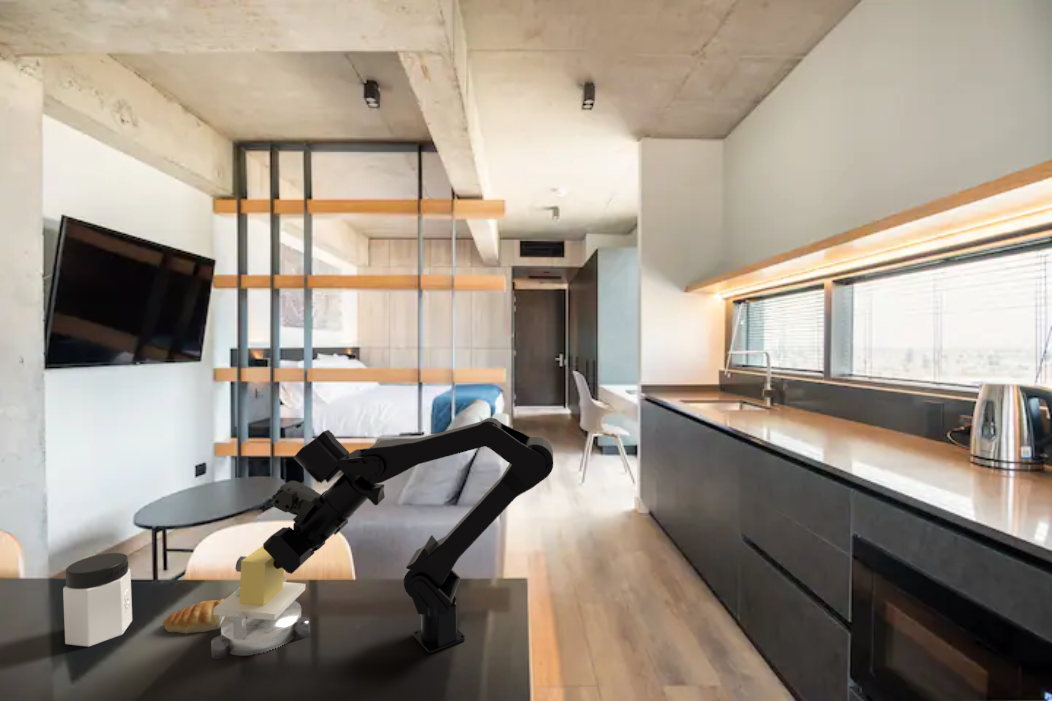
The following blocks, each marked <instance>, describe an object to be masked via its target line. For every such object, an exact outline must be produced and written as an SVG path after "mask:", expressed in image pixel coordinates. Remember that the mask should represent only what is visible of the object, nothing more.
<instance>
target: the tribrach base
mask: <svg viewBox="0 0 1052 701" xmlns="http://www.w3.org/2000/svg"><path fill="white" fill-rule="evenodd" d="M283 582H287V577H285V576H284V577H283ZM310 623H311V622H310V617H307V616H302V606H301V604H300V603H299V602H298V601H296V600H294V601H293V602H292V603H291V604H290V605H289V606H288V607H287V608H286V609H285V610H284V611H283V612H282V613H281V614H280V615H279V616H278V617H277V618H276V619H275V620H265V619H255V618H247V619H246V613H237V614H235V615H234V616H226V617H225V618H224V619H223V621H222V623H221V626H220V635H218V636H216V637H213V638H212V639H211V642H210V643H211V644H210V646H211V650H210V651H211V658H212V659H213V660H221V659H223V658H225V657H227V656H228V655H229V654H230V655H234V656H246V657H247V656H254V655H253V654H255V655H259V654H258V653H260V654H264V653H267V651H268V652H270V651H269V650H271V651H273V650H272V649H274V650H276V649H278V647H279V648H281V647H283V646H285V645H286V644H288V643H289V642H291V641H293V639H295V640H302V639H305V638H308V637H309V636H310V634H311V628H310V625H311V624H310ZM294 637H295V638H294ZM290 640H291V641H290ZM284 644H285V645H284ZM282 645H283V646H282ZM280 646H281V647H280ZM275 648H276V649H275ZM263 652H264V653H263Z"/></svg>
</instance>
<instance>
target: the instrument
mask: <svg viewBox="0 0 1052 701" xmlns="http://www.w3.org/2000/svg"><path fill="white" fill-rule="evenodd" d="M274 562H275V560H274V559H273V557H272V556H271V555H270V554H269V553H268V552H267V551H266V550H265V549H264V548H263V545H261V546H260V547H259V548H257V549H256V550H254V551H253V552H251V554H249V555H248V556H242V555H240V556H239V558H237V560H236V563H235V571H236V572H237V573H238V572H239V573H240V583H239V584H240V585H239V587H238V588H237V589H236V590H235V591H234V592H232V593H231V594H230V595H229V596H227V597H226V598H224V599H225V600H224V601H222V602H221V603H220V604H218V605H217V606H216V607H215V608H214V613H213V615H224V616H234V615H235V614H237V613H246V619H247V618H255V619H265V620H275V619H276V618H277V617H278V616H279V615H280V614H281V613H282V612H283V611H284V610H285V609H286V608H287V607H288V606H289V605H290V604H291V603H292V602H293V601H296V600H297V599H298V597H299V596H301V594H302V593H304V592H305V590H306V583H301V582H300V583H299V582H287V581H286V582H283V577H285V575H284V573H285V572H284V571H285V570H284V569H283V568H279V569H276V568H275V567H274V566H273V563H274Z"/></svg>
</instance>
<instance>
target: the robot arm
mask: <svg viewBox="0 0 1052 701" xmlns="http://www.w3.org/2000/svg"><path fill="white" fill-rule="evenodd" d="M484 447H486V448H488V449H489V450H491V451H493V452H494V453H495V454H496V455H498V456H499V457H500V458H502V459H503V460H504V461H505V462H508V465H507V467H506V469H505V470H504V472H503V474H502V475H501V476H500V478H499V479H498V480H496V482H494V484H493V485H492V486H491V487H490V488H489V489H488V490H487V492H486V493H484V495H483V496H482V497H481V498H480V499H479V500H478V501H477V502H476V503H475V504H474V505H473V506H472V508H471V509H470V510H469V511H468V512H467V513H466V514H465V515H464V516H463V517H461V519H460V520H459V521H458V522H457V523H456V525H455V526H453V528H452V529H451V530H450V531H449V532H447V534H446V535H445V536H443V537H442V538H440V539H438V540H437V539H436V538H435V537H434V535H430V536H429V537H428V540H427V541H426V542H425V544H424V545H423V546H422V547H420V548H418V549H416V551H415V552H414V554H413V555H412V557H411V559H410V561H409V562H408V564H407V566H405V567H406V570H407V572H406V573H405V575H404V578H403V587H404V590H405V592H406V593H407V595H408V596H409V597H410V598H411V599H412V601H413V604H414V606H415V607H414V608H415V609H416V611H417V613H418V615H420V629H418V630H416V631H414V632H413V633H412V634H413V635H412V636H413V638H414V639H415V640H416V641H417V642H418V643H419V644H420V645H421V646H422V648H424V650H425V651H426V652H427V653H429V654H433V653H435V652H438V651H440V650H443V649H446V648H448V647H452V646H454V645H456V644H459V643H461V642H463V641H465V640H466V636H465V634H463V633H462V631H461V630H460V629H458V628H457V598H456V596H455V594H456V592H457V590H458V589H457V588H458V586H459V584H460V580H461V577H460V576H459V575H458V574H457V573H456V572H455V571H454V570H453V569H454V567H455V564H456V563H457V561H458V560H459V559H460V558H461V556H462V555H463V554H465V552H466V551H467V550H468V549H469V548H470V547H471V546H472V545H473V543H475V541H476V540H477V539H478V538H480V536H481V535H482V534H483V533H484V532H485V531H486V530H487V529H488V528H489V527H490V526H491V524H493V523H494V521H495V520H497V519H498V517H499V516H500V515H501V514H502V513H503V512H504V511H505V510H506V508H508V506H510V505H511V503H512V502H513V501H514V500H515V499H516V498H518V496H521V495H522V494H524V493H526V492H528V491H529V490H531V489H533V488H534V487H536V486H537V485H538V484H540V483H541V482H543V481H544V480H545V479H547V477H548V476H550V474H551V472H553V469H554V451H553V447H552V444H550V443H549V441H548V440H546V439H545V438H543V437H540V436H529V435H528V434H526V433H524V432H522V431H520V430H518V429H516V428H513V427H511V426H509V425H507V424H505V423H503V422H501V421H500V420H498V419H496V418H495V417H494V418H493V417H486V418H485V419H483V420H482V421H477V422H475V423H470V424H467V425H463V426H459V427H456V428H453V429H449V430H446V431H442V432H441V431H440V432H437V433H434V434H433V433H432V434H431V435H427V436H423V437H419V438H410V439H409V438H395V439H387V440H384V439H383V440H381V441H378V442H376V443H374V444H373V445H371V446H370V447H367V448H358V449H355V450H353V451H351V452H350V451H349V450H347V449H346V447H345V446H344V445H342V443H340V441H339V440H338V439H337V438H336V436H335V435H334V434H333V432H331V431H330V429H327V430H324V431H322V432H320V434H319V435H317V436H316V437H315V438H314V439H312V440H311V441H310V442H309V443H307V444H306V445H304V446H302V447H301V448H300V449H299V450H298V451H297V453H296V454H295V455H294V457H293V459H294V460H295V461H296V462H297V463H298V464H299V465H300V466H301V467H302V469H303V470H305V471H306V472H307V473H308V474H309V475H310V476H311V477H312V478H313V479H314V480H315V481H316V482H317V483H320V484H322V483H323V482H324V481H325V482H326V483H327V484H328V483H330V482H331V481H333V480H334V479H335V478H336V477H337V476H339V475H340V473H341V472H342V475H340V477H339V478H338V479H337V480H336V481H335V482H333V484H332V485H330V486H329V488H327V490H324V491H323V492H322V493H319V492H317V491H316V490H315V489H314V488H311V487H310V486H307V485H305V484H303V483H302V482H299V481H297V480H290V481H288V482H285V483H284V484H282V485H281V486H280V487H279V489H278V490H277V492H276V493H275V494H273V495H272V498H271V499H272V500H273V502H272V506H273V507H274V508H275V509H277V510H280V511H282V512H283V513H289V514H291V515H294V516H295V517H293V518H292V521H294V522H293V526H292V527H293V528H292V527H291V526H288V527H282V528H280V529H279V530H277V531H276V532H274V533H273V534H271V535H270V537H268V539H266V540H265V541H264V542H263V544H262V546H263V548H264V549H265V550H266V551H267V552H268V553H269V554H270V555H271V556H272V557H273V559H274V560H275V562H274V563H273V566H274V567H275V568H276V569H279V568H283V569H284V571H285V572H286V573H288V574H291V575H292V574H293V573H294V572H296V571H297V570H298V569H299V568H300V567H301V566H302V565H303V564H304V563H305V562H306V561H307V560H309V559H310V558H311V557H312V556H313V555H314V554H315V552H317V551H319V550H320V549H321V548H322V547H323V546H324V545H325V544H326V541H327V540H328V539H329V538H331V536H333V535H334V536H336V535H337V534H338V533H339V532H341V531H342V530H343V529H344V527H345V526H347V524H349V519H350V518H351V517H352V516H353V515H354V513H355V512H356V511H357V510H358V509H360V508H361V506H363V504H365V502H366V501H367V500H369V502H371V503H372V504H373V505H374V506H378V505H379V504H380V503H381V502H382V501H383V500H384V499H385V484H383V482H386V481H388V480H390V479H392V478H394V477H396V476H399V475H401V474H402V473H404V472H406V471H408V470H409V469H412V468H414V467H415V466H418V465H421V464H425V463H428V462H432V461H434V460H435V461H436V460H439V459H442V458H447V457H450V456H454V455H458V454H462V453H465V452H469V451H473V450H476V449H479V448H484ZM381 483H382V484H381Z"/></svg>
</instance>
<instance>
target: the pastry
mask: <svg viewBox="0 0 1052 701" xmlns="http://www.w3.org/2000/svg"><path fill="white" fill-rule="evenodd" d="M225 599H226V598H221V599H219V600H217V599H216V600H202V601H200V602H199V603H196V604H191V605H190V606H185V607H183V608H182V609H179V610H177V611H175V612H172V613H171V614H170V615H169V616H167V618H164V620H163V622H162V624H163V628H164V629H165V630H166V631H167V632H170V633H179V634H181V633H182V634H191V633H192V634H193V633H202V632H210V631H215V630H218V629H219V628H221V623H222V621H223V619H224V618H225V617H226V616H224V615H213V613H214V608H215V607H216V606H217V605H218V604H220V603H221V602H222V601H224V600H225Z"/></svg>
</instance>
